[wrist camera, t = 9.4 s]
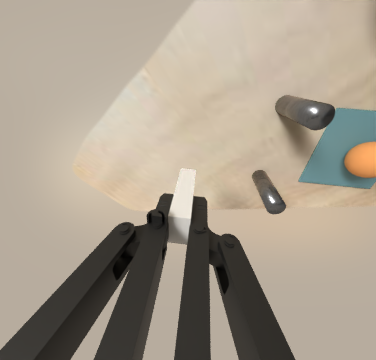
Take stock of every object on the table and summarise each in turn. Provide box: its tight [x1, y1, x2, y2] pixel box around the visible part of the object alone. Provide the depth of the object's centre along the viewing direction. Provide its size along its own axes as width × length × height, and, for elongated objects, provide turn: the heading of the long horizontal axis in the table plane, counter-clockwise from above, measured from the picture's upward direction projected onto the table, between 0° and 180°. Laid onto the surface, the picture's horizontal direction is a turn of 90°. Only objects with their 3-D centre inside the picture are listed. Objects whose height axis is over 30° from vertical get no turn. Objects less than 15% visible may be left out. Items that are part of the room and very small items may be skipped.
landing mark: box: [299, 108, 376, 189], centre depth 27 cm, size 13×13×1 cm
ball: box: [344, 142, 376, 178], centre depth 25 cm, size 6×6×6 cm
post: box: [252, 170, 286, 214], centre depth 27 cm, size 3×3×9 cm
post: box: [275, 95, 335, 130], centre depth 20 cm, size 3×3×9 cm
